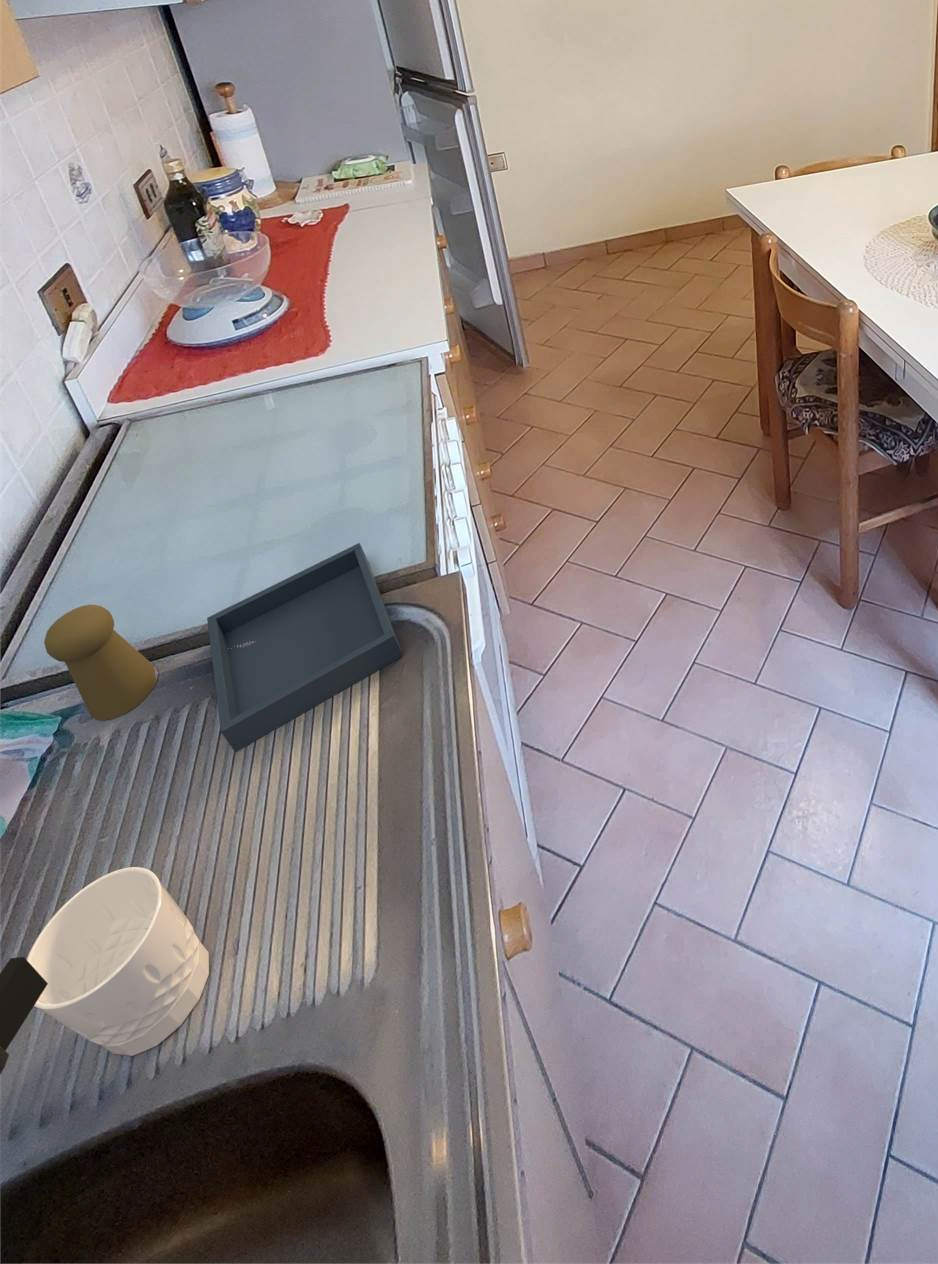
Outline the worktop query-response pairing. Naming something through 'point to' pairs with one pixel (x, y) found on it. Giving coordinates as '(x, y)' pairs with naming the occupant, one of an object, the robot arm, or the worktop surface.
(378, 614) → the shallow grey tray
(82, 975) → the white cup
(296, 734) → the worktop surface
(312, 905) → the worktop surface
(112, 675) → the cork
